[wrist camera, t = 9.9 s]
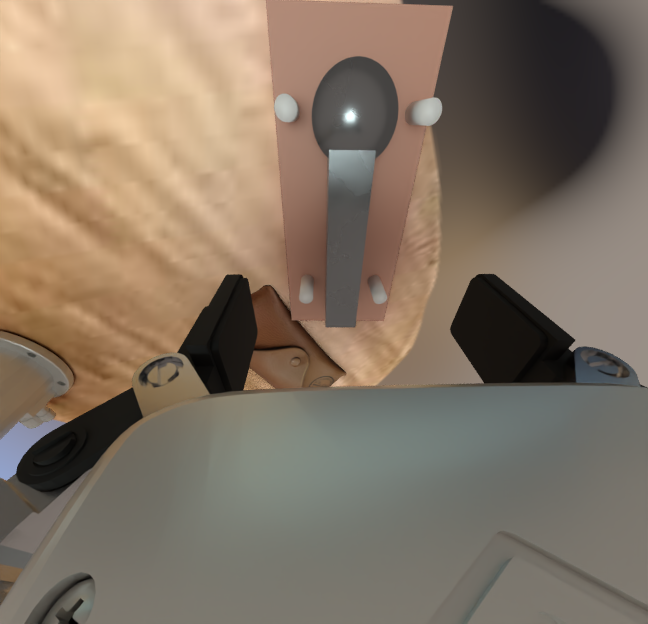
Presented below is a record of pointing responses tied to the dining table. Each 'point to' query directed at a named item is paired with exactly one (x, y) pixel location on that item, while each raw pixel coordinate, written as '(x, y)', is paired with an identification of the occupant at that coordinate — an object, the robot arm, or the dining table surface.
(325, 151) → the grey spoon
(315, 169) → the peg rack
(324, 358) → the sunglasses case
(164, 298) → the dining table surface
